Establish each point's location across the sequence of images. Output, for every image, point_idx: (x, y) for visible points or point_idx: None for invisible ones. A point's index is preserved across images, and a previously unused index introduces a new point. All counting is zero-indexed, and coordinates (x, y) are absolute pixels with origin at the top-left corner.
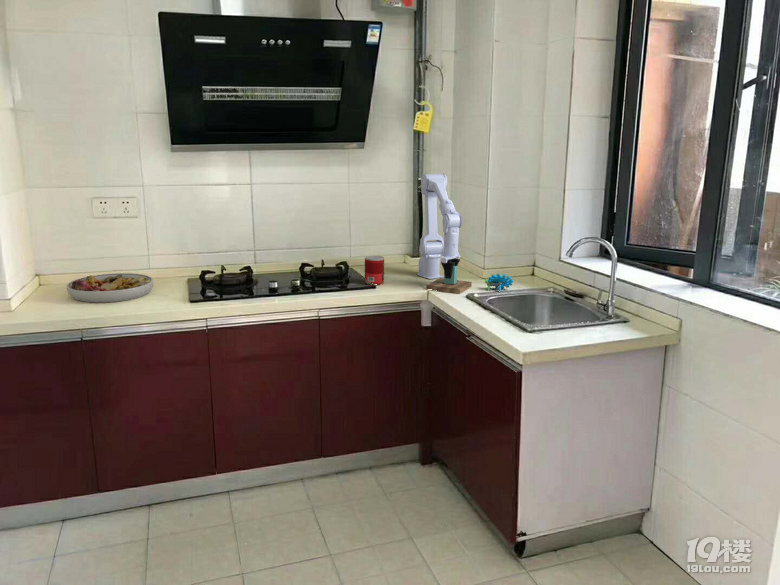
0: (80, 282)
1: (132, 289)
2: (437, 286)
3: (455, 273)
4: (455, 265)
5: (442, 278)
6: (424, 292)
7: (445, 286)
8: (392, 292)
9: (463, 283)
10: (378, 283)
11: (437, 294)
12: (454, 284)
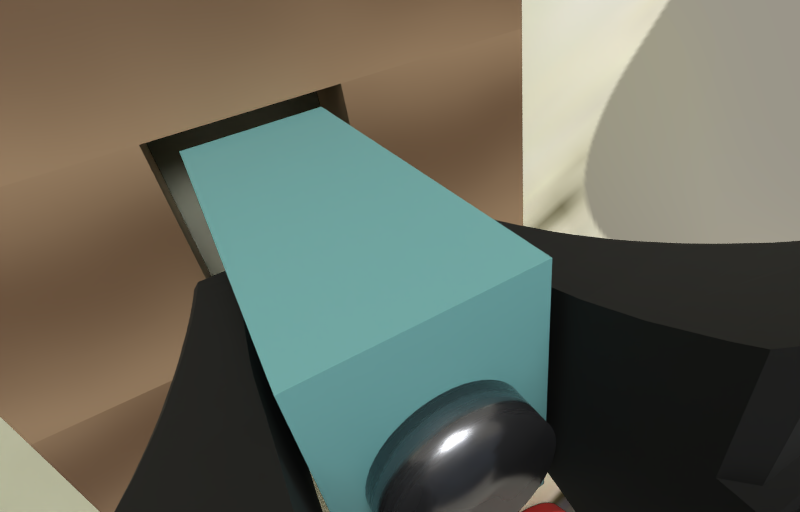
0: None
1: None
2: (519, 207)
3: (345, 201)
4: (285, 475)
5: (112, 500)
6: (574, 227)
7: (484, 131)
8: None
9: (36, 25)
10: (552, 510)
11: (591, 87)
12: (168, 194)
